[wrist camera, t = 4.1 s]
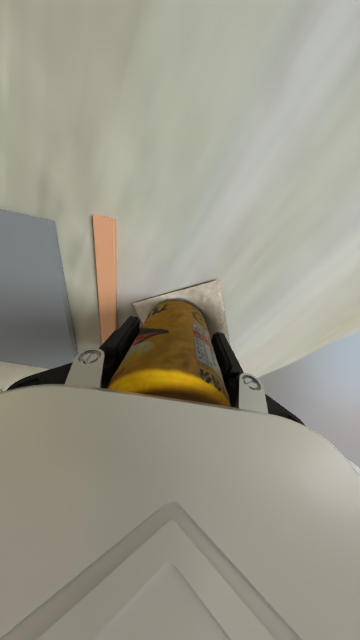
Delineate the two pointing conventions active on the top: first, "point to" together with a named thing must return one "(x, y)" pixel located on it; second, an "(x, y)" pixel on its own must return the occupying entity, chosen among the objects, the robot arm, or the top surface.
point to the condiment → (177, 347)
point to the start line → (106, 272)
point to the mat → (33, 294)
